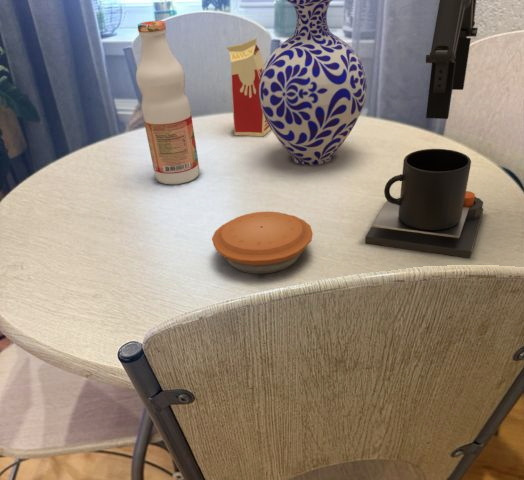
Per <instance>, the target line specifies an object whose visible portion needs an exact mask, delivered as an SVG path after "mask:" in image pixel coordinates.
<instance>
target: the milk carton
mask: <svg viewBox="0 0 524 480" xmlns="http://www.w3.org/2000/svg"><path fill="white" fill-rule="evenodd" d="M257 40H258V38H257V37H255V38H253V39H251V40H248V41H246V42H244V43H242V44H236V45H231V46H227V47H225V49H227V51H229V58H230V73H231V78H230V79H231V100H232V117H233V131H234V136H250V137H253V136H254V137H265V135H267V134H268V133H269V132H270V131H271V128H270V126H269V125H268V123H267V121H266V119H265V117H264V114H263V111H262V108H261V105H260V99H259V84H260V77H261V73H262V70H263V67H264V65H265V63H264V60H263V57H262V53H261V50H260V48H259V46H258V44H257Z"/></svg>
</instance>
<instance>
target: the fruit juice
mask: <svg viewBox="0 0 524 480" xmlns="http://www.w3.org/2000/svg"><path fill="white" fill-rule="evenodd" d="M166 29H167V27H166V22H165V21H163V20H150V21H143V22H140V23H138V24H137V31H138V35H139V36H140V38H141V53H140V60H139V63H138V65H137V68H136V72H135V80H136V84H137V87H138V90H139V92H140V93H141V94H140V95H141V98H142V99H141V114H142V120H143V124H144V128H145V133H146V138H147V139H146V140H147V143H148V147H149V153H150V158H151V162H152V167H153V172H154V176H155V179H156V180H157V181H158V182H159V183H161V184H165V185H180V184H181V185H182V184H185V183H188V182H191V181H194V180H195V179H197V178H198V177H199V175H200V163H199V156H198V150H197V145H196V143H197V142H196V137H195V130H194V124H193V117H192V116H193V115H192V110H191V109H192V108H191V105H190V101H189V98H188V96H187V94H186V91H185V85H186V75H185V71H184V68H183V67H182V65H181V63H180V61H178V59H176V57H175V56H174V54H173V52H172V50H171V48H170V45H169V42H168V40H167V38H166V32H167V30H166Z"/></svg>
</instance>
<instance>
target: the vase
mask: <svg viewBox="0 0 524 480" xmlns="http://www.w3.org/2000/svg"><path fill="white" fill-rule="evenodd" d="M285 1H286V2H288V3H290V4H292V6H293V9H294V10H295V15H296V24H295V30H294V33H293V34H292V35H291V36H289V37H288V38H287V39H286V40H284V41H283V42H282V43H281V44H280V45H279V46H278V47H277V48H276V49H275V50H274V51H273V52H271V54H270V56H269V57H268V58H267V59H266V62H265V63H264V67H263V70H262V73H261V77H260V84H259V99H260V105H261V108H262V111H263V114H264V117H265V119H266V121H267V123H268V125H269V126H270V128H271V129H270V131H271V132H272V133H273V134H274V136H275V137H276V139H277V141H279V143H280V144H281V145H282V146H283V148H284V149H285V150H286V151H287V152H288V154H289V155H290V156H291V157H292V161H293V162H295V163H297V164H300V165H306V166H315V165H322V164H326V163H329V162H331V161H332V160H333V158H334V155H335V154H336V153H337V151H338V150H339V149H340V148H341V146H342V144H344V142H345V141H346V139H347V138H348V136H349V135H350V133H351V132H352V130H353V129H354V128H355V125H356V123H357V121H358V119H359V118H360V116H361V113H362V111H363V108H364V106H365V102H366V99H367V98H366V97H367V90H368V89H367V88H368V86H367V75H366V70H365V67H364V64H363V62H362V59H361V58H360V56H359V54H358V53H357V52H356V51H355V50H354V49H353V48H352V46H350V45H349V44H348V43H347V42H345V40H343V39H341V38H340V37H338V36H337V35H335V34H334V33H332V32H331V31H330V28H329V26H328V19H327V16H328V9H329V6H330V3H331V2H332V1H333V0H285Z"/></svg>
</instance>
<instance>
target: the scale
mask: <svg viewBox="0 0 524 480" xmlns="http://www.w3.org/2000/svg"><path fill="white" fill-rule="evenodd" d="M386 202H387V200H386V201H385V203H386ZM383 207H384V205H383ZM383 207H382V208H383ZM467 208H469V210H468V213H467V216H466V219H465V222H464V225H463V228H462V231H461V234H460V237H459V238H454V237H446V236H439V235H431V234H423V233H416V232H408V231H401V230H393V229H386V228H378V227H372V226H370V228H369V230H368V232H367V233H366V234H365V238H364V243H365V244H368V245H369V244H370V245H377V246H384V247H389V248H390V247H391V248H398V249H404V250H411V251H419V252H425V253H433V254H438V255H439V254H440V255H445V256H446V255H447V256H453V257H461V258H468V259H470V258H471V255H472V251H473V250H474V249H473V248H474V245H475V241H476V238H477V234H478V231H479V227H480V224H481V222H482V221H481V220H482V217H483V213H484V202H483V200H482V199H481V198H479V197H477V196H475V198H474V204H473V206H470V207H467ZM380 212H381V210H380V211H379V213H380ZM377 217H378V215H377V216H376V218H377ZM374 222H375V220H374V221H373V223H374Z"/></svg>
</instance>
